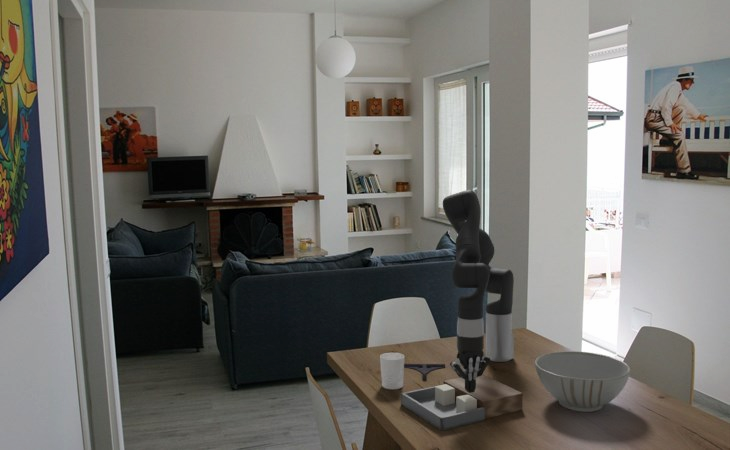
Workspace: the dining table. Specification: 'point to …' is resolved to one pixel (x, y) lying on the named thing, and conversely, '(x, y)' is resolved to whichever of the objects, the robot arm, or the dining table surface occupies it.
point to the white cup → (392, 370)
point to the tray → (439, 410)
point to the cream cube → (444, 394)
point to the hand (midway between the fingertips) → (470, 391)
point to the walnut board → (490, 395)
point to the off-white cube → (465, 403)
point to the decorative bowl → (582, 378)
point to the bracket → (424, 368)
